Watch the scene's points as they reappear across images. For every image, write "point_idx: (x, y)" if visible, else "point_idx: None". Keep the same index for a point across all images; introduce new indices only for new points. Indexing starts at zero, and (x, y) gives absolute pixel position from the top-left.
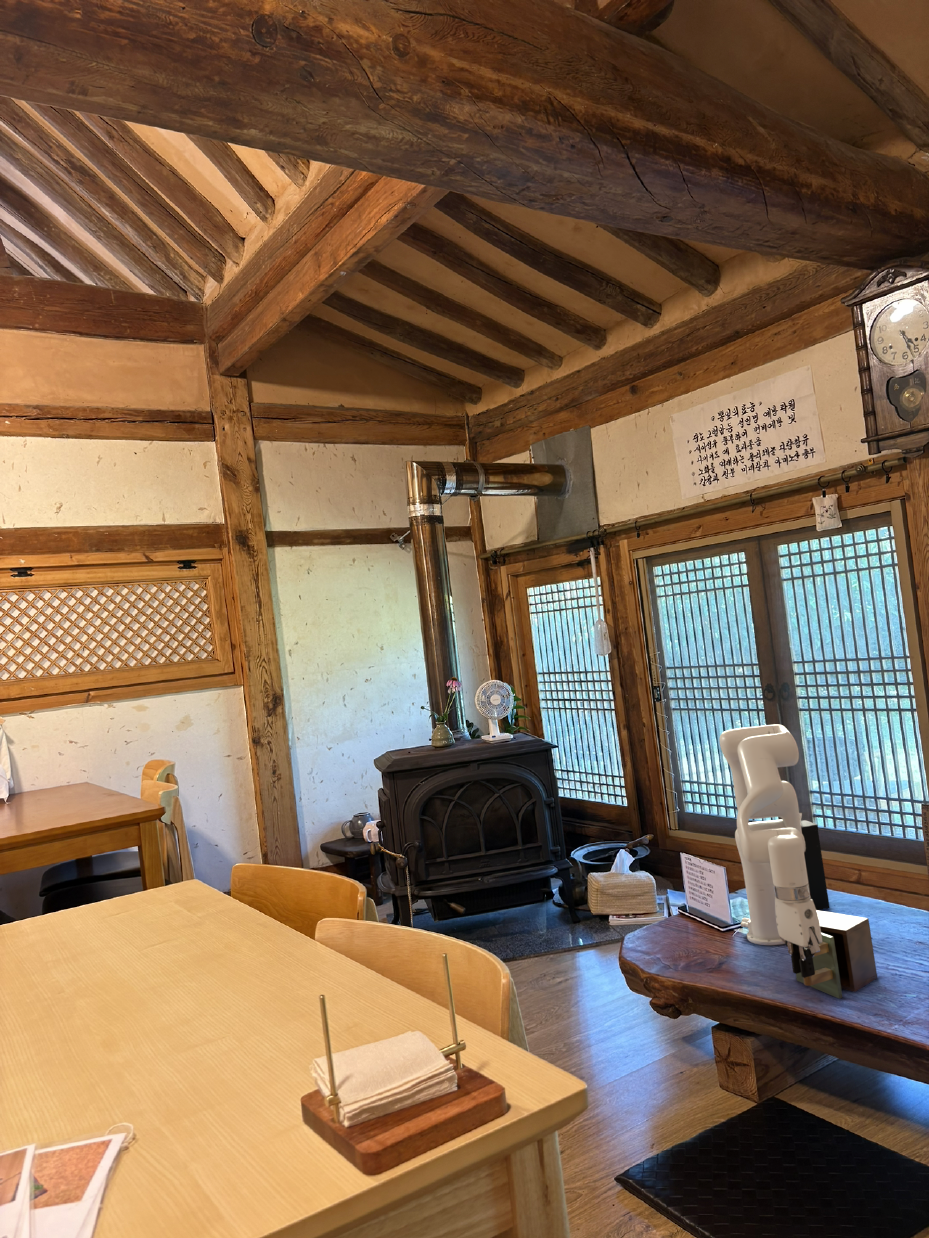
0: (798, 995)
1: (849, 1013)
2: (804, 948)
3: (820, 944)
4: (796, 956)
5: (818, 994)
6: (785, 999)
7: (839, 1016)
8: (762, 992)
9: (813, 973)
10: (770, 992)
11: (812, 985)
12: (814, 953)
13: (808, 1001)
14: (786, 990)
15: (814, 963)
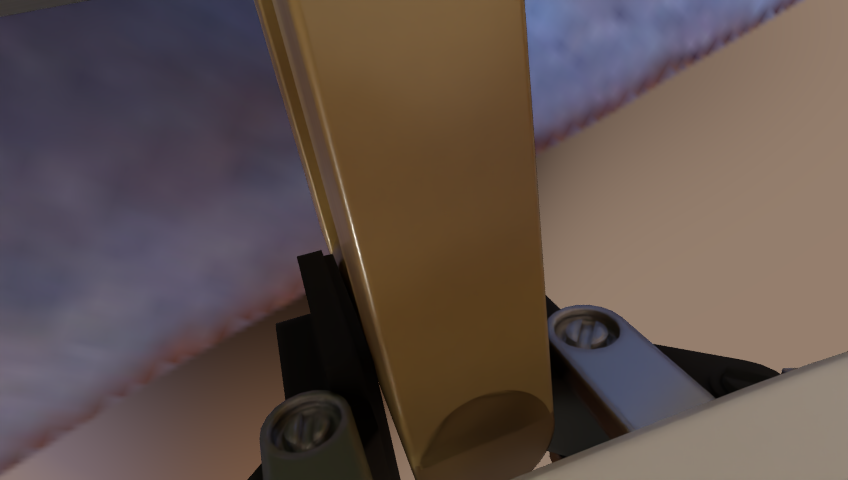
0: (149, 188)
1: (558, 30)
2: (498, 438)
3: (490, 110)
4: (391, 450)
5: (182, 42)
6: (192, 288)
7: (558, 107)
8: (5, 385)
9: None
10: (21, 340)
11: (10, 14)
12: (726, 365)
13: (284, 170)
14: (9, 229)
15: (11, 4)
